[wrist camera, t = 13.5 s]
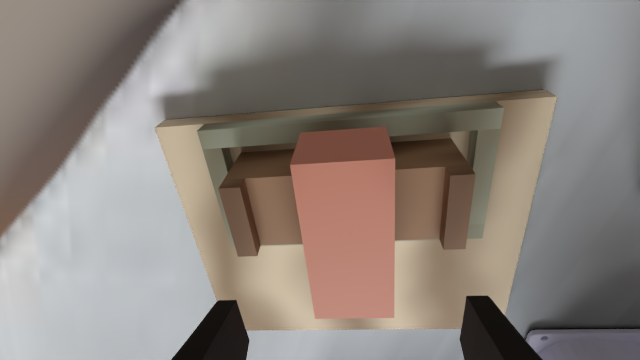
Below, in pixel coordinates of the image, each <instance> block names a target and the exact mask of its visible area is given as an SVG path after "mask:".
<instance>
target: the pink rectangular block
mask: <svg viewBox="0 0 640 360" xmlns="http://www.w3.org/2000/svg"><path fill="white" fill-rule="evenodd" d="M290 168H291V175H292V181H293V187H294V193H295V199H296V205H297V211H298V217H299V224H300V230H301V236H302V242H303V248H304V254H305V260H306V266H307V273H308V279H309V285H310V291H311V297H312V303H313V309H314V315H315V319H347V318H394V280H395V156H394V152H393V149H392V145H391V142H390V138H389V135H388V131H387V127H386V126H385V127H372V128H358V129H344V130H330V131H316V132H302V133H300V135H299V138H298V141H297V144H296V147H295V150H294V154H293V157H292V160H291V163H290Z"/></svg>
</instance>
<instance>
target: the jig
mask: <svg viewBox="0 0 640 360" xmlns="http://www.w3.org/2000/svg"><path fill="white" fill-rule="evenodd" d="M556 100H557V96H556V95H554V94H552V93H550V92H548V91H546V90H534V91H521V92H509V93H496V94H484V95H471V96H459V97H446V98H434V99H421V100H409V101H396V102H384V103H371V104H359V105H346V106H334V107H321V108H309V109H296V110H284V111H271V112H259V113H246V114H234V115H221V116H209V117H196V118H184V119H171V120H164V121H163V122H162V123H160V124H159V125H158V126H156V127H155V130H156V133H157V136H158V139H159V141H160V144H161V147H162V150H163V152H164V155H165V158H166V161H167V163H168V166H169V169H170V172H171V175H172V177H173V180H174V183H175V186H176V188H177V191H178V194H179V197H180V200H181V202H182V205H183V208H184V211H185V213H186V216H187V219H188V222H189V225H190V227H191V230H192V233H193V236H194V238H195V241H196V244H197V247H198V250H199V252H200V255H201V258H202V261H203V263H204V266H205V269H206V272H207V275H208V277H209V280H210V283H211V286H212V288H213V291H214V294H215V297H216V300H217V301H218V300H237V303H238V307H239V310H240V313H241V316H242V319H243V322H244V325H245V329H246V330H347V329H462V322H463V315H464V309H465V302H466V296H486V295H488V296H489V297H490V298H491V299H492V300H493V302H494V303H495V304H496V305H497V307H498V308H499V309H500V310H501V312H502V313H503V314H504V315H505V313H506V309H507V305H508V300H509V296H510V292H511V288H512V284H513V280H514V275H515V271H516V267H517V263H518V259H519V255H520V250H521V246H522V242H523V238H524V234H525V230H526V225H527V221H528V217H529V213H530V209H531V205H532V200H533V196H534V192H535V188H536V184H537V180H538V175H539V171H540V167H541V163H542V159H543V155H544V150H545V146H546V142H547V138H548V134H549V130H550V125H551V121H552V117H553V113H554V109H555V105H556ZM385 126H386V127H387V131H388V135H389V138H390V142H402V141H417V140H431V139H446V138H451V139H452V140H453V142H454V143H455V145H456V146H457V148H458V149H459V151H460V152H461V153H462V155H463V156H464V158H465V159H466V161H467V162H468V164H469V165H470V167H471V168H472V170H473V171H474V172H475V174H476V176H475V183H474V190H473V198H472V205H471V212H470V220H469V227H468V234H467V242H466V249H456V250H443V247H442V245H441V242H440V239H424V240H397V241H395V280H394V318H347V319H315V315H314V309H313V303H312V297H311V291H310V285H309V279H308V273H307V266H306V260H305V254H304V248H303V244H288V245H261V246H260V249H259V253H258V256H246V257H238V255H237V252H236V248H235V245H234V241H233V238H232V235H231V231H230V228H229V224H228V221H227V217H226V214H225V211H224V207H223V204H222V200H221V197H220V193H219V190H218V188H219V187H220V185H221V183H222V182H223V180H224V179H225V177H226V175H227V174H228V172H229V171H230V169H231V168H232V166H233V164H234V163H235V161H236V160H237V158H238V156H239V155H240V153H241V152H255V151H269V150H284V149H295V147H296V144H297V141H298V138H299V135H300V133H302V132H316V131H330V130H344V129H358V128H372V127H385Z"/></svg>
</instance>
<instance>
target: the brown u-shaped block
mask: <svg viewBox="0 0 640 360" xmlns="http://www.w3.org/2000/svg"><path fill="white" fill-rule="evenodd" d="M391 145H392V149H393V152H394V156H395V241H397V240H424V239H440V242H441V245H442V247H443V250H456V249H466V242H467V234H468V227H469V220H470V212H471V205H472V198H473V190H474V183H475V176H476V174H475V172H474V171H473V170H472V168H471V167H470V165H469V164H468V162H467V161H466V159H465V158H464V156H463V155H462V153H461V152H460V151H459V149H458V148H457V146H456V145H455V143H454V142H453V140H452V139H451V138H446V139H431V140H417V141H402V142H391ZM294 150H295V149H284V150H269V151H255V152H241V153H240V155H239V156H238V158H237V160H236V161H235V163H234V164H233V166H232V168H231V169H230V171H229V172H228V174H227V175H226V177H225V179H224V180H223V182H222V183H221V185H220V187H219V188H218V190H219V193H220V197H221V200H222V204H223V207H224V211H225V214H226V217H227V221H228V224H229V228H230V231H231V235H232V238H233V241H234V245H235V248H236V252H237V255H238V257H246V256H258V253H259V249H260V246H261V245H288V244H303V242H302V236H301V230H300V224H299V217H298V211H297V205H296V199H295V193H294V187H293V181H292V175H291V168H290V163H291V160H292V157H293V154H294Z"/></svg>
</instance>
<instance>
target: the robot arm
mask: <svg viewBox="0 0 640 360" xmlns="http://www.w3.org/2000/svg"><path fill="white" fill-rule="evenodd" d="M460 342H461V346H462V351H463V355H464V359H465V360H640V329H573V330H532V331H530V332H529V333H528V335H527V339H526V340H525V339H524V338H523V337H522V336H521V334H520V333H519V332H518V331H517V330H516V329H515V327H514V326H513V325H512V324H511V323H510V321H509V320H508V319H507V318H506V317H505V315H504V314H503V313H502V312H501V310H500V309H499V308H498V307H497V305H496V304H495V303H494V302H493V300H492V299H491V298H490V297H489V296H488V295H486V296H466V302H465V309H464V315H463V322H462V329H461V335H460ZM248 345H249V338H248V335H247V332H246V329H245V325H244V322H243V319H242V316H241V313H240V310H239V307H238V303H237V300H218V301H217V302H216V304H215V305H214V306H213V307H212V309H211V310H210V311H209V313H208V314H207V315H206V316H205V318H204V319H203V320H202V322H201V323H200V324H199V326H198V327H197V328H196V329H195V331H194V332H193V333H192V335H191V336H190V337H189V338H188V340H187V341H186V342H185V343H184V345H183V346H182V347H181V348H180V350H179V351H178V352H177V353H176V355H175V356H174V357H173V358H172V359H171V360H246V357H247V351H248Z"/></svg>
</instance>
